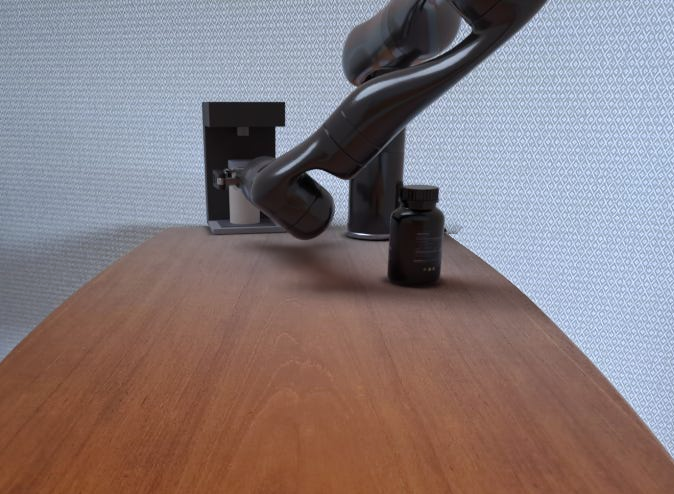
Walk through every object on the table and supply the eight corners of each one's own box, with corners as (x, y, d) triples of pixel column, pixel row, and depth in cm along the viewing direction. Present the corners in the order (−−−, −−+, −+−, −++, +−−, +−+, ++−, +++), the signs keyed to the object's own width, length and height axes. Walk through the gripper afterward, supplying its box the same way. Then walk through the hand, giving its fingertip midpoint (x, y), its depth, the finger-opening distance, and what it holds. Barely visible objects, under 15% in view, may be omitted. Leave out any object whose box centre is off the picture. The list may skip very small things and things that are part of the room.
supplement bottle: (376, 277, 90) (381, 184, 86) (419, 272, 92) (425, 182, 88) (406, 289, 84) (412, 190, 80) (450, 284, 87) (459, 188, 82)
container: (262, 220, 128) (261, 159, 124) (257, 224, 123) (256, 161, 119) (233, 219, 129) (231, 159, 125) (226, 224, 123) (224, 161, 119)
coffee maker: (285, 232, 122) (285, 101, 114) (213, 234, 120) (208, 101, 112) (272, 220, 134) (271, 102, 126) (206, 222, 132) (201, 102, 124)
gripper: (221, 212, 98) (211, 198, 113) (317, 209, 101) (294, 196, 116) (220, 158, 95) (209, 151, 110) (318, 157, 98) (294, 150, 113)
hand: (252, 174), depth 113 cm, fingers open, 8 cm apart
